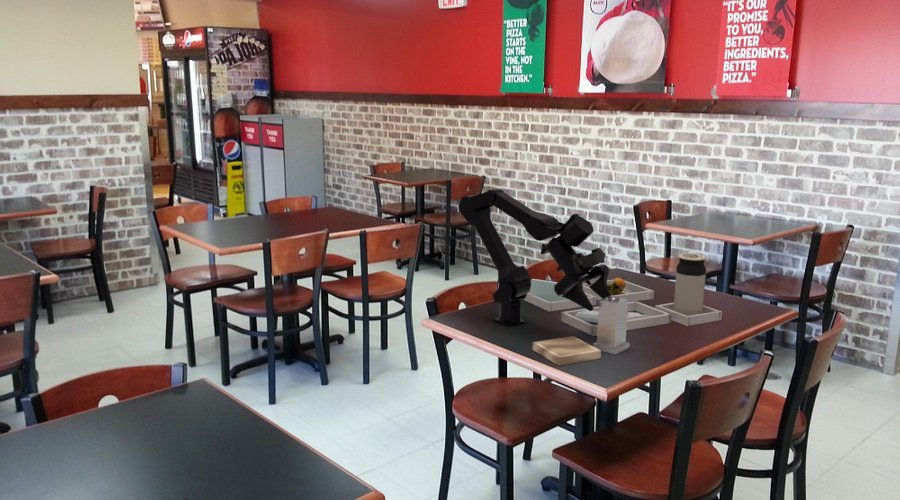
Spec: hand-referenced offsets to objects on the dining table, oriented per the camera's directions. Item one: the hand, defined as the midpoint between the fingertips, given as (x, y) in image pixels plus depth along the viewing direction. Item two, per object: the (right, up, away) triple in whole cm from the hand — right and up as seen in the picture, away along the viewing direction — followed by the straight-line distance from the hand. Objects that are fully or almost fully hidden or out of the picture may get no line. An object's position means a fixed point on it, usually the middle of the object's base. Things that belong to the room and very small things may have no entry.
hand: (601, 306), depth 186 cm
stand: (-10, -11, -5) cm, 16 cm away
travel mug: (+30, -5, +27) cm, 41 cm away
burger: (+14, -1, +49) cm, 52 cm away
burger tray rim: (+14, 0, +49) cm, 51 cm away
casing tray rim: (+8, -6, +21) cm, 24 cm away
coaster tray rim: (-5, -2, +42) cm, 42 cm away
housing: (+2, -11, 0) cm, 11 cm away
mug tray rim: (+30, -5, +26) cm, 41 cm away
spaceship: (+8, -6, +23) cm, 25 cm away
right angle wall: (-5, -2, +42) cm, 43 cm away
